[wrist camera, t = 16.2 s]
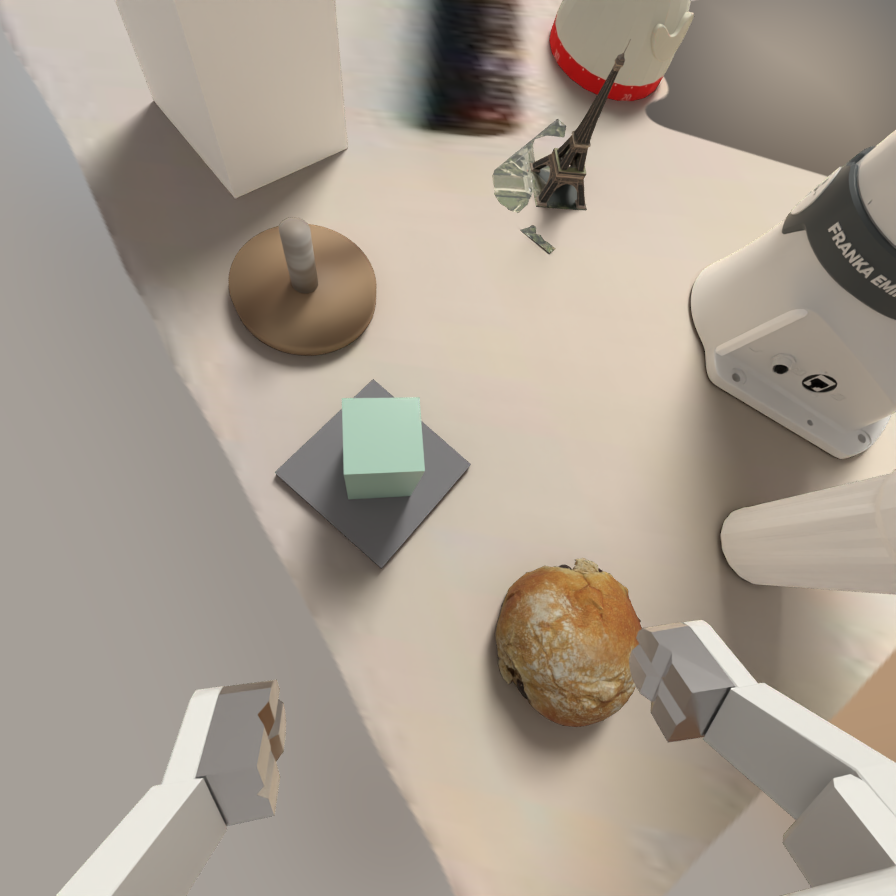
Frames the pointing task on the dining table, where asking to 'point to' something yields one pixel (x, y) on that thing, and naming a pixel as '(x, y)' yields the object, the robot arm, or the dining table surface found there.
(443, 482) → the charcoal mat
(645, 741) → the dining table surface
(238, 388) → the dining table surface
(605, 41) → the kitchen timer
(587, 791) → the dining table surface
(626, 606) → the bread roll
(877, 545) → the cup
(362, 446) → the mint rectangular pillar
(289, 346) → the post stand
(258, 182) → the milk
